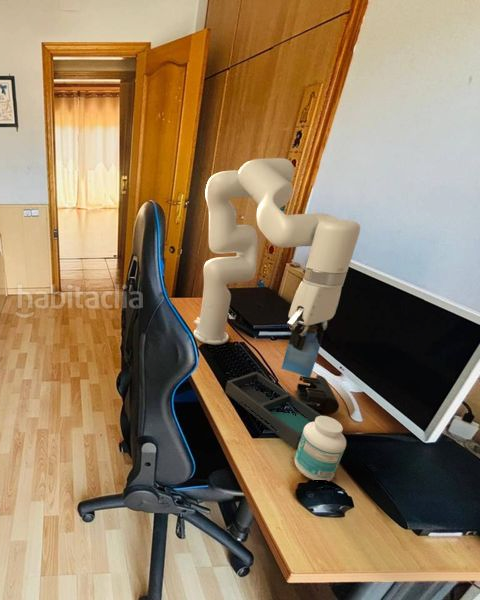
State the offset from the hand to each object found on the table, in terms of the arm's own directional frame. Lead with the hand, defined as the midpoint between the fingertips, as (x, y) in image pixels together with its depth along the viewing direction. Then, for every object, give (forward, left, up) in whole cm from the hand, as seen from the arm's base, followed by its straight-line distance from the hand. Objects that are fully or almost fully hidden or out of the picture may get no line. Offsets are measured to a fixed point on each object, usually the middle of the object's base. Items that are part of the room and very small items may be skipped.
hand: (304, 344), depth 81 cm
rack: (-1, -3, -22) cm, 22 cm away
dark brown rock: (+1, +10, -22) cm, 24 cm away
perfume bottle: (0, 0, -7) cm, 7 cm away
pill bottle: (+15, -10, -22) cm, 28 cm away
